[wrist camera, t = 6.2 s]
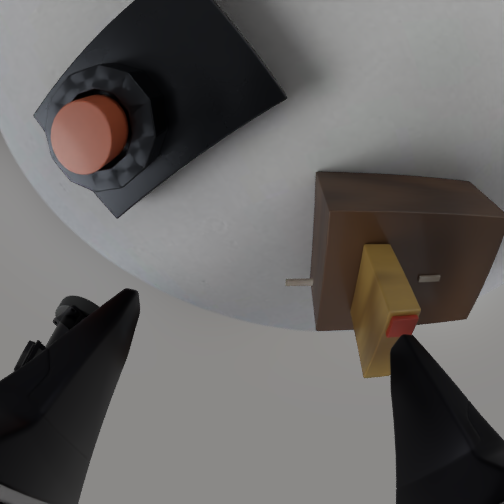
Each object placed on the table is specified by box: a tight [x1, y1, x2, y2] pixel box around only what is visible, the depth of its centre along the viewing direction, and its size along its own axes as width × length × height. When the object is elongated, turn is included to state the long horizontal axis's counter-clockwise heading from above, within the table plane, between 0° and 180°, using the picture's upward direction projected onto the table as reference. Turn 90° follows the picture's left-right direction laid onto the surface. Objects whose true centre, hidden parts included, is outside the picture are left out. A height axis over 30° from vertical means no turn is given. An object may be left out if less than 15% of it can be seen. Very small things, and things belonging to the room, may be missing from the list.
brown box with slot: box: [286, 172, 504, 331], centre depth 17 cm, size 13×8×5 cm, turn 93°
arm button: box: [51, 94, 129, 175], centre depth 12 cm, size 4×4×2 cm
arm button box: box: [34, 0, 287, 218], centre depth 13 cm, size 12×9×4 cm
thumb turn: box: [350, 244, 421, 378], centre depth 13 cm, size 5×1×5 cm, turn 3°
